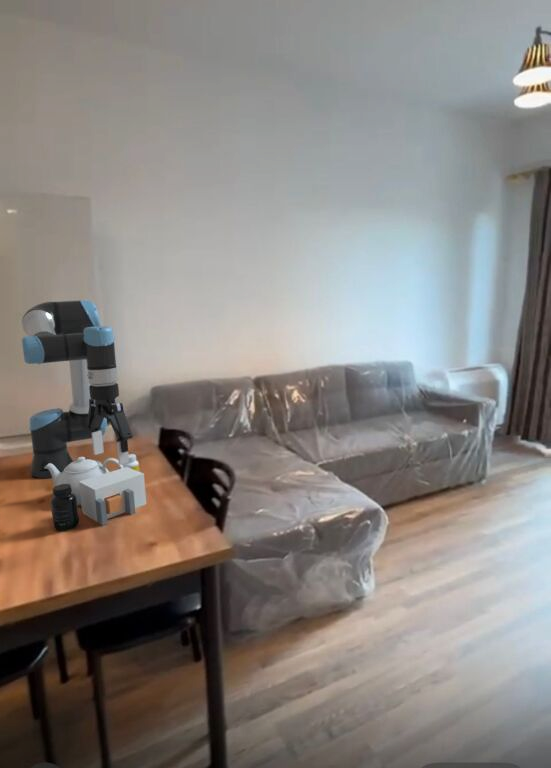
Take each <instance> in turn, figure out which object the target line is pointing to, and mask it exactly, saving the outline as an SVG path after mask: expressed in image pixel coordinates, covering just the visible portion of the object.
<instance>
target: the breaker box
mask: <svg viewBox="0 0 551 768" xmlns="http://www.w3.org/2000/svg"><path fill="white" fill-rule="evenodd" d="M79 487H80V496H81V505H82V506H81V512H82V514H84V516H87V517H89V518H90V519H91V520H93V521H95V522H97V524H99V525H101V526H102V527H104V526H106V525H108V520H109V519H110V518H111V519H112V518H114V517H116V516H119V515H122V514H124V513H126V514H128V515H130V516H131V515H134V514H136V509H138V508H140V507H142V506H143V507H144V506H145V505H147V495H146V492H147V491H146V483H145V473H143V472H141V471H139V472H138V471H136V470H133V469H131V468H128V467H125V468H122V469H120V468H119V469H116V470H112V471H109V473H106V474H102V475H99V476H96V477H93V478H89V479H86V480H83V481H80V482H79ZM116 494H117V495H119V496H121V497H122V506H123V510H120V511H117V512H115V513H112V514H109V513H108V512H106V504H105V501H104V498H107V497H110V496H113V495H116Z"/></svg>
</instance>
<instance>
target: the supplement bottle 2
mask: <svg viewBox="0 0 551 768" xmlns="http://www.w3.org/2000/svg"><path fill="white" fill-rule="evenodd" d="M128 454H129V453H128ZM122 465H123V468H125V467H128V468H131V469H133V470H136V471H138V472H140V463H139V461H138V460H137V455H136V454H134V453H131V454H129V462H128V463H124V464H122Z"/></svg>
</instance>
